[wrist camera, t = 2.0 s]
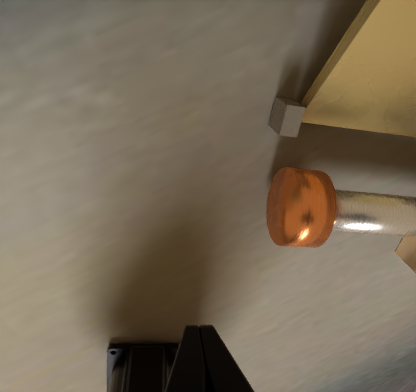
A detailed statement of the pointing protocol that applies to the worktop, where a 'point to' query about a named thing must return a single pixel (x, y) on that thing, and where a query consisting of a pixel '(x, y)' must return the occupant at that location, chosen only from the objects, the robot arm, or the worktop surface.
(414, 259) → the block
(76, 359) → the worktop surface
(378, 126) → the plate
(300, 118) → the keeper bracket
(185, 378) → the robot arm
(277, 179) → the hitch pin
